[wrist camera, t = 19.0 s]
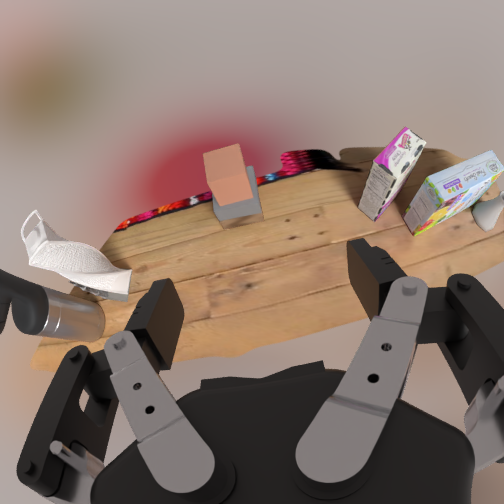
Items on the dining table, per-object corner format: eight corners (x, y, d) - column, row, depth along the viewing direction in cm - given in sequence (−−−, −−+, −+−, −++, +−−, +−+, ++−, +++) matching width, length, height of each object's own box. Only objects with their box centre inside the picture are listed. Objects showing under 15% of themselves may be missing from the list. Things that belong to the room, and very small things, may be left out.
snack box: (462, 184, 52) (491, 147, 37) (475, 204, 50) (507, 170, 36) (399, 214, 52) (426, 175, 38) (413, 238, 50) (445, 204, 36)
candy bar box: (384, 174, 55) (405, 124, 40) (402, 189, 53) (428, 141, 38) (355, 207, 54) (372, 159, 38) (374, 223, 52) (398, 179, 37)
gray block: (219, 220, 53) (213, 211, 49) (216, 185, 56) (210, 174, 52) (261, 212, 52) (259, 202, 49) (255, 177, 55) (252, 165, 51)
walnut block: (224, 230, 57) (219, 222, 53) (220, 196, 59) (215, 186, 56) (264, 221, 56) (262, 212, 52) (257, 187, 59) (254, 177, 55)
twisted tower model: (109, 261, 59) (18, 210, 33) (138, 263, 57) (46, 207, 31) (103, 298, 56) (4, 262, 30) (132, 302, 55) (30, 266, 29)
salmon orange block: (220, 206, 50) (207, 182, 42) (215, 178, 52) (202, 153, 44) (253, 197, 49) (245, 172, 42) (246, 170, 51) (238, 143, 44)
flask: (480, 197, 50) (501, 176, 40) (498, 221, 47) (520, 203, 38) (467, 212, 49) (488, 191, 40) (485, 237, 47) (509, 219, 38)
